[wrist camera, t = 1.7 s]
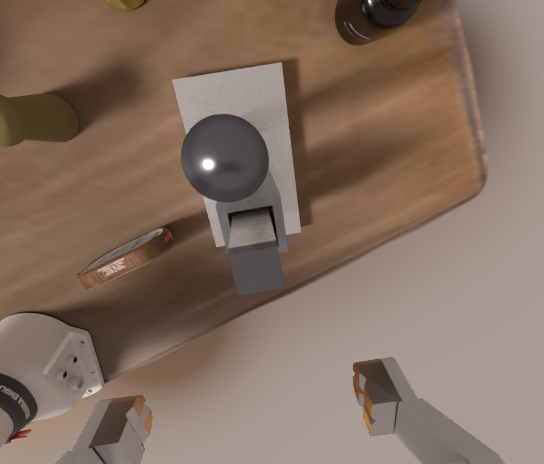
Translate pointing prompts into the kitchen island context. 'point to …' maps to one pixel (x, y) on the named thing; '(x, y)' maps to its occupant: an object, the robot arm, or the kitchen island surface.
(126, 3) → the vase
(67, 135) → the olive waisted cylinder
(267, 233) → the column
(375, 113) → the kitchen island surface
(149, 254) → the tin
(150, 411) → the robot arm
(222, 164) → the stand
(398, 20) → the supplement bottle
